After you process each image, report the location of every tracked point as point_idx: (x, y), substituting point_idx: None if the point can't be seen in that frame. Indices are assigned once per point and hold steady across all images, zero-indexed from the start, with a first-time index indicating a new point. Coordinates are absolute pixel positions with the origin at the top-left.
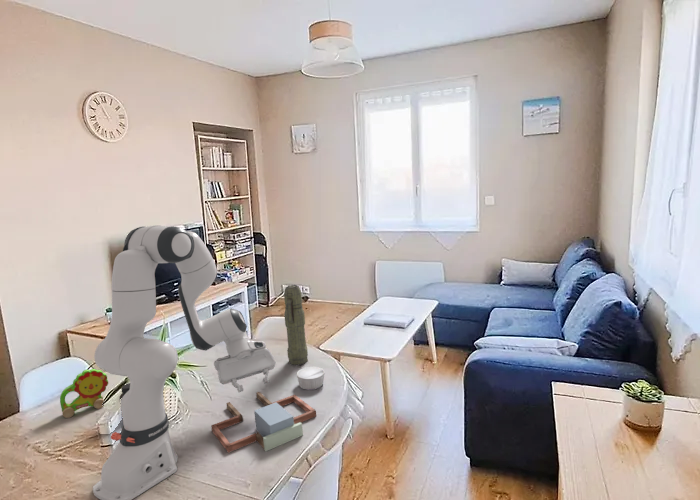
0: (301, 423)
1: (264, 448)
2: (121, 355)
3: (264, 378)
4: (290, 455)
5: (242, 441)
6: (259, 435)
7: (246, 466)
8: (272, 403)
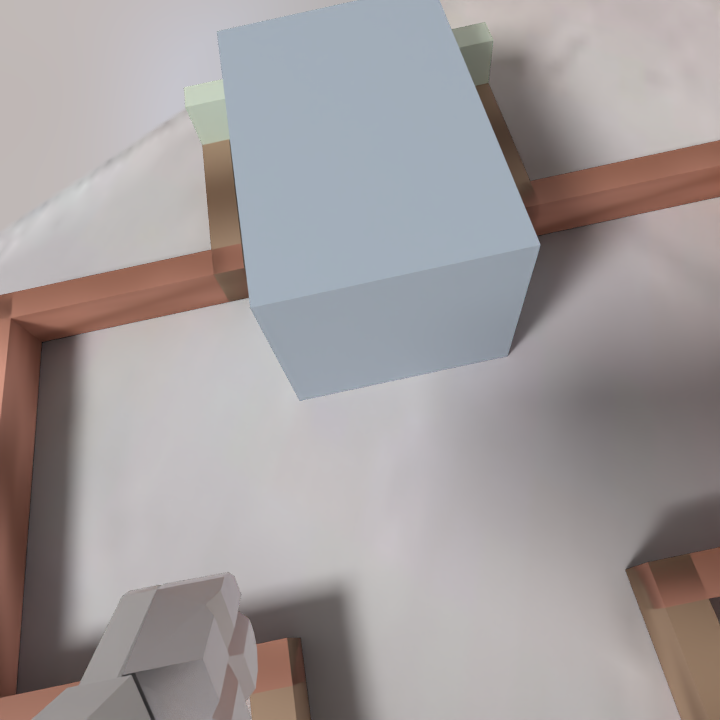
0: (186, 90)
1: None
2: None
3: (194, 639)
4: None
5: (640, 161)
6: None
7: (606, 33)
8: None
